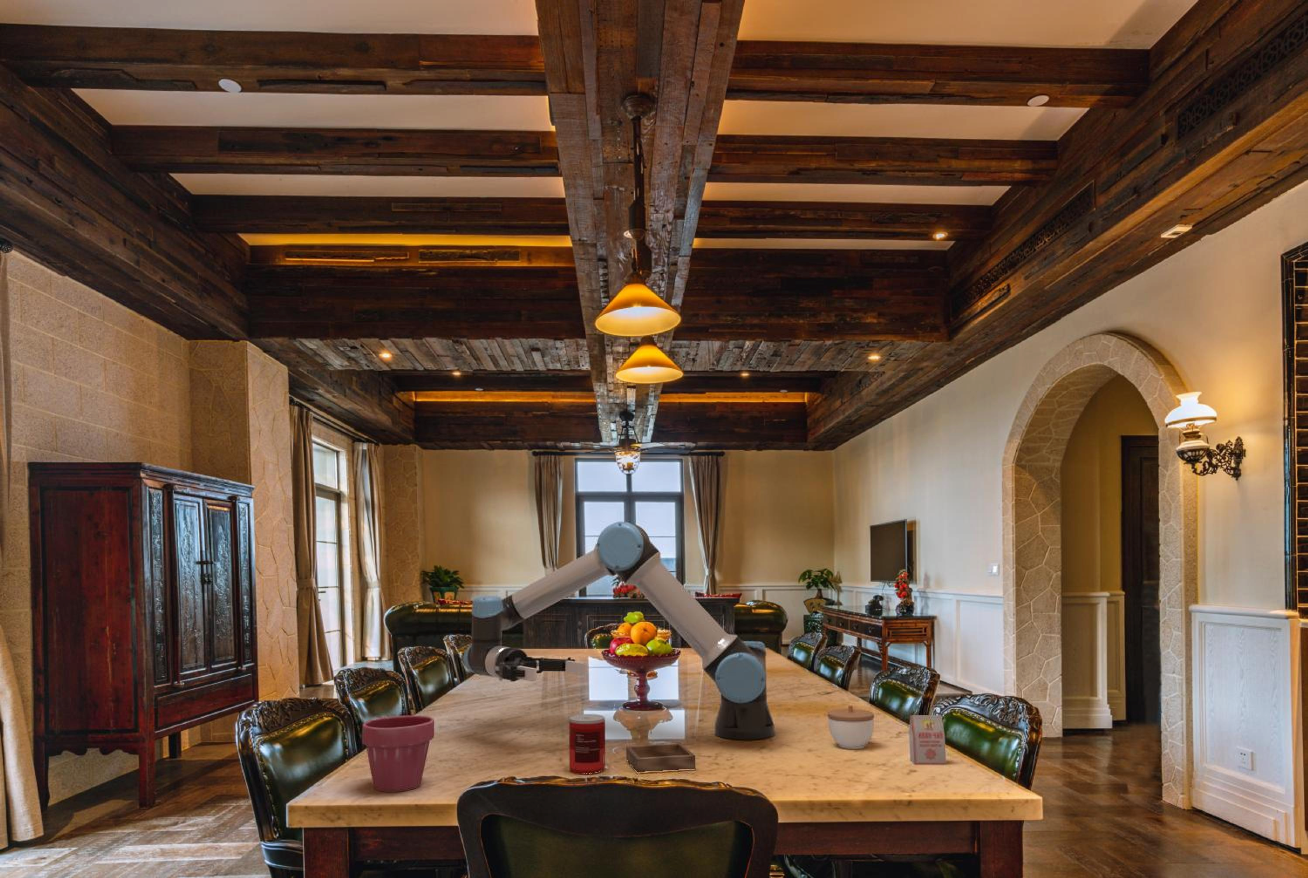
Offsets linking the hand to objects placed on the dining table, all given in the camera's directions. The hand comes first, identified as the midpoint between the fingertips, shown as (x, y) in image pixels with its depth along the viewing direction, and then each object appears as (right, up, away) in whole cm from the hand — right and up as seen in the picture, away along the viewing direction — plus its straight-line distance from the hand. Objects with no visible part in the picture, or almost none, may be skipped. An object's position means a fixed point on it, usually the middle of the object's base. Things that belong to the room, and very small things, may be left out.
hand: (560, 672), depth 198 cm
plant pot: (-31, -18, -21) cm, 41 cm away
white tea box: (+81, -18, -6) cm, 83 cm away
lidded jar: (+68, -21, +10) cm, 72 cm away
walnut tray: (+22, -19, -6) cm, 30 cm away
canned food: (+7, -19, -10) cm, 22 cm away
